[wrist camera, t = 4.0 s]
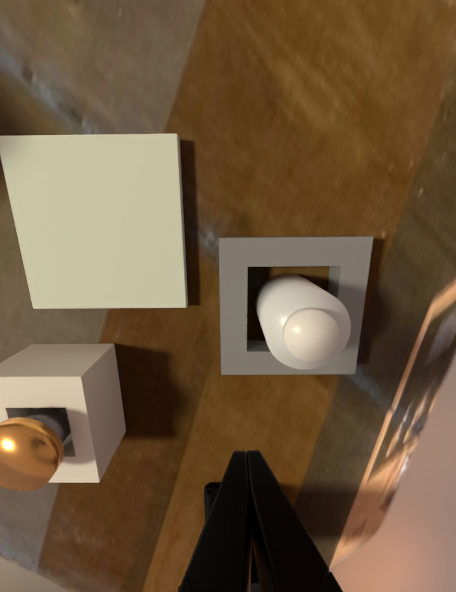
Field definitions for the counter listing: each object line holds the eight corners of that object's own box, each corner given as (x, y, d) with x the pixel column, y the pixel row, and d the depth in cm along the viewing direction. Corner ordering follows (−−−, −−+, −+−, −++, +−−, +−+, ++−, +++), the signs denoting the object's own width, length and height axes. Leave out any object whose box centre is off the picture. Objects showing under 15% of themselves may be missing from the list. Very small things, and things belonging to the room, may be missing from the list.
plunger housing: (126, 430, 24) (99, 482, 19) (52, 431, 24) (7, 482, 19) (114, 343, 21) (80, 376, 17) (32, 344, 21) (-25, 377, 17)
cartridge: (313, 331, 21) (352, 376, 15) (254, 331, 21) (265, 377, 15) (318, 272, 20) (363, 293, 13) (255, 273, 20) (268, 293, 13)
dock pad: (188, 303, 20) (185, 307, 20) (42, 304, 21) (33, 308, 20) (179, 139, 17) (176, 133, 16) (8, 141, 18) (-4, 135, 17)
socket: (343, 361, 22) (354, 374, 20) (221, 361, 22) (221, 374, 20) (358, 235, 19) (373, 236, 17) (220, 237, 19) (218, 237, 17)
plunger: (102, 426, 21) (60, 491, 16) (46, 426, 21) (-14, 491, 16) (94, 376, 20) (46, 429, 15) (35, 377, 20) (-34, 429, 15)
